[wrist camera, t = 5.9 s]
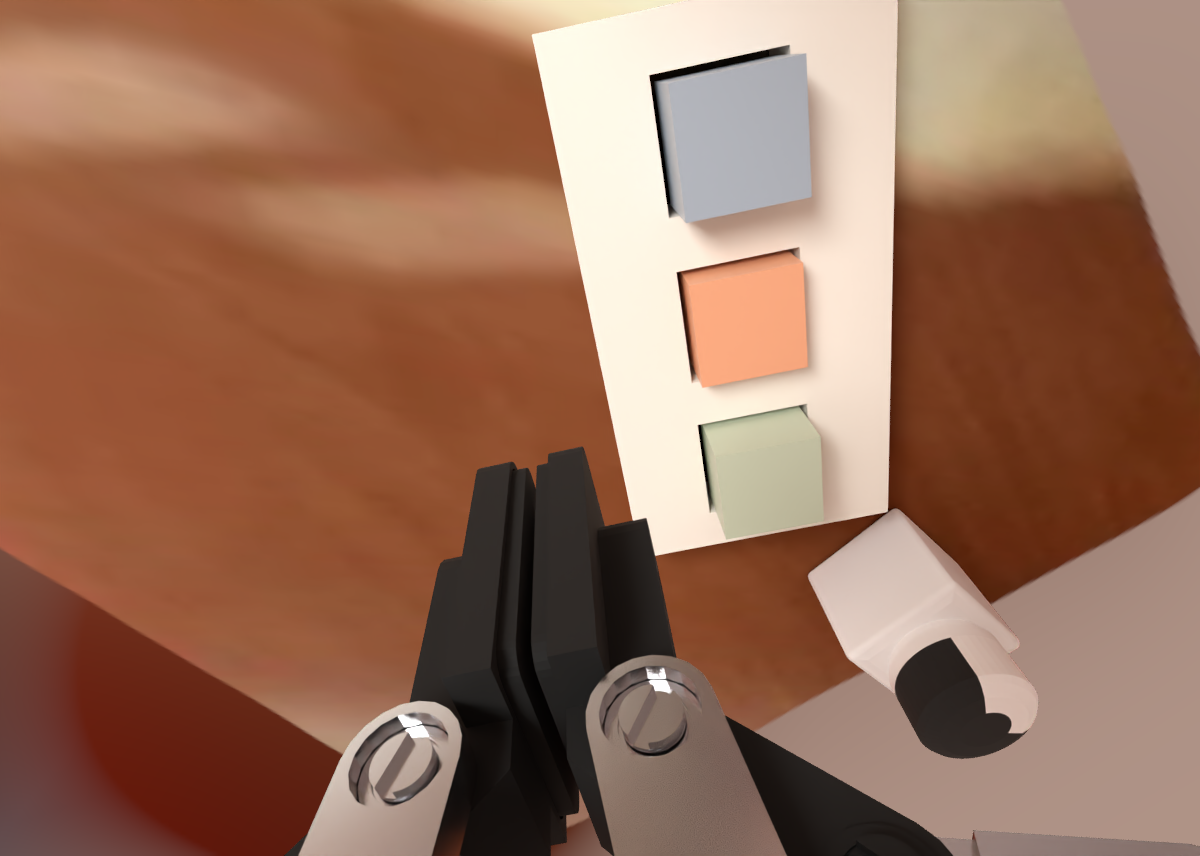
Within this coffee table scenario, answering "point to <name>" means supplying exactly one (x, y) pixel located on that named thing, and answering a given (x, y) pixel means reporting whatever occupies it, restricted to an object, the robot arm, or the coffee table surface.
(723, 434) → the key sage
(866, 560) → the medicine bottle
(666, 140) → the key slate
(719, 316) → the key terracotta
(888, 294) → the key board
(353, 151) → the coffee table surface
